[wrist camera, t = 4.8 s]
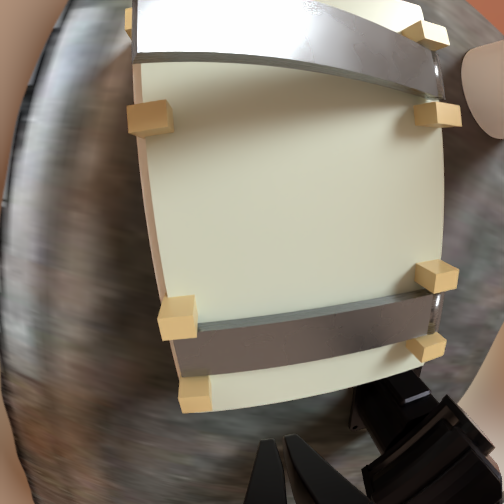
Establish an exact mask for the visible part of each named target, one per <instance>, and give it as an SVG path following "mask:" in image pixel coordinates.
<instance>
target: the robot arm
mask: <svg viewBox="0 0 504 504" xmlns="http://www.w3.org/2000/svg"><path fill="white" fill-rule="evenodd" d="M421 369H422V366H420V367H417V368H414V369H411V370H408V371H405V372H402V373H399V374H395V375H392V376H389V377H386V378H382V379H379V380H375V381H372V382H368V383H364V384H361V385H357V386H354V393H353V400H352V407H351V414H350V420H349V429H350V430H351V431H356V430H359V429H363V428H366V429H367V431H368V432H369V434H370V436H371V438H372V439H373V441H374V443H375V445H376V446H377V448H378V450H379V452H380V453H381V456H380V457H378V458H377V459H376V460H374V461H373V462H372V463H370V464H369V465H366V466H365V467H363V468H362V469H361V470H362V475H363V481H364V485H365V489H366V494H367V496H365V495H364V494H363V493H362V492H361V491H359V490H358V489H357V488H356V487H355V486H354V485H352V484H351V483H350V482H349V481H348V480H347V479H346V478H344V477H343V476H342V475H341V474H340V473H339V472H338V471H336V470H335V469H334V468H333V467H332V466H331V465H330V464H329V463H328V462H326V461H325V460H324V459H323V458H322V457H321V456H320V455H319V454H318V453H317V452H316V451H315V450H313V449H312V448H311V447H310V446H309V445H308V444H307V443H306V442H305V441H304V440H303V439H302V438H301V437H300V436H299V435H297V434H291V435H285V436H284V437H283V453H284V459H285V463H286V467H287V472H288V476H289V480H290V485H291V489H292V493H293V496H294V499H295V502H296V504H502V477H501V473H500V471H499V468H498V465H497V463H496V462H495V461H494V460H493V459H492V458H491V457H490V456H489V454H490V453H491V452H492V451H493V450H494V448H495V447H494V445H493V444H492V443H491V442H490V440H489V439H488V438H487V437H486V435H485V434H484V433H483V432H482V430H481V429H480V428H479V427H478V426H477V425H476V423H475V422H474V421H473V420H472V419H471V418H470V417H469V416H468V415H467V414H466V413H465V412H464V411H463V410H462V409H461V408H460V407H459V406H458V405H457V404H456V403H455V402H454V401H453V400H452V399H451V398H450V397H449V396H448V395H447V394H446V395H445V396H444V398H443V399H442V401H441V402H440V403H439V402H438V401H437V400H436V399H435V398H434V397H433V396H432V394H431V390H430V389H429V388H428V387H427V386H426V385H425V384H424V382H423V381H422V380H421V379H420V378H419V377H420V373H421ZM243 504H287V499H286V487H285V476H284V470H283V466H282V462H281V459H280V456H279V452H278V449H277V446H276V443H275V440H274V438H269V439H262V440H261V441H260V443H259V447H258V451H257V455H256V458H255V462H254V466H253V470H252V474H251V478H250V481H249V485H248V489H247V493H246V496H245V500H244V503H243Z"/></svg>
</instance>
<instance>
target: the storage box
mask: <svg viewBox="0 0 504 504" xmlns="http://www.w3.org/2000/svg"><path fill="white" fill-rule="evenodd" d="M314 1H317V2H320V3H323V4H326V5H329V6H332V7H335V8H338V9H341V10H344V11H346V12H349V13H352V14H354V15H357V16H360V17H362V18H365V19H367V20H369V21H372V22H374V23H377V24H379V25H381V26H383V27H386V28H388V29H390V30H392V31H394V32H396V33H398V34H401V35H403V36H405V37H407V38H409V39H411V40H413V41H415V42H416V43H418V44H420V45H422V46H424V47H426V48H428V49H429V50H432V51H436V50H439V49H441V48H444V47H447V46H450V44H449V40H448V35H447V31H446V28H445V27H442V26H439V25H436V24H433V23H430V22H426V21H424V18H423V14H422V10H421V8H420V6H418V5H415V4H412V3H408V2H404V1H401V0H314ZM125 31H126V32H127V34H128V35H129V37H130V39H131V40H132V8H128V9H125ZM133 91H134V105H129V106H127V120H128V133H129V134H132V135H135V136H136V137H137V148H138V158H139V168H140V177H141V185H142V193H143V201H144V208H145V215H146V222H147V229H148V235H149V241H150V248H151V253H152V259H153V265H154V270H155V276H156V281H157V286H158V291H159V296H160V301H161V308H160V311H159V315H158V318H157V320H158V324H159V329H160V333H161V337H162V341H166V340H169V341H170V346H171V350H172V354H173V358H174V362H175V366H176V370H177V373H178V377H179V381H180V383H179V394H178V399H179V403H180V406H181V409H182V413H200V412H211V411H221V410H230V409H238V408H245V407H253V406H259V405H266V404H272V403H278V402H284V401H289V400H295V399H300V398H305V397H310V396H315V395H319V394H324V393H328V392H333V391H337V390H341V389H345V388H349V387H353V386H357V385H361V384H364V383H368V382H372V381H375V380H379V379H382V378H386V377H389V376H392V375H395V374H399V373H402V372H405V371H408V370H411V369H414V368H417V367H420V366H423V365H424V362H426V361H429V360H432V359H434V358H437V357H440V356H443V354H444V350H445V346H446V341H447V340H446V339H445V338H443V337H442V336H441V335H440V334H439V333H437V332H435V333H434V334H431V335H424V336H420V337H417V338H413V339H410V340H406V341H402V342H398V343H394V344H390V345H386V346H382V347H378V348H374V349H370V350H365V351H361V352H357V353H352V354H347V355H342V356H338V357H333V358H327V359H322V360H317V361H311V362H306V363H300V364H294V365H288V366H281V367H275V368H268V369H260V370H253V371H245V372H236V373H228V374H218V375H207V376H196V377H182V376H181V372H180V368H179V364H178V360H177V356H176V352H175V347H174V343H173V340H177V339H187V338H197V326H198V323H205V322H215V321H224V320H233V319H241V318H250V317H258V316H265V315H273V314H280V313H287V312H294V311H301V310H308V309H315V308H321V307H327V306H333V305H340V304H345V303H351V302H357V301H363V300H368V299H374V298H379V297H385V296H390V295H395V294H400V293H405V292H410V291H415V290H420V289H424V288H426V289H427V290H429V291H430V292H432V293H433V294H435V293H439V292H443V291H447V290H451V289H455V288H457V281H458V273H459V269H457V268H455V267H453V266H451V265H449V264H447V263H445V262H443V261H441V251H442V237H443V218H444V160H443V140H442V128H445V127H462V122H461V112H460V106H458V105H453V104H448V103H442V102H439V100H436V101H431V100H426V99H425V98H422V97H419V96H416V95H413V94H409V93H406V92H402V91H399V90H395V89H391V88H388V87H384V86H380V85H376V84H372V83H368V82H363V81H359V80H354V79H350V78H345V77H340V76H334V75H329V74H323V73H318V72H311V71H305V70H298V69H290V68H282V67H274V66H264V65H252V64H239V63H219V62H161V63H141V64H133Z"/></svg>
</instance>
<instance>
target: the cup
mask: <svg viewBox="0 0 504 504" xmlns="http://www.w3.org/2000/svg"><path fill="white" fill-rule="evenodd" d="M461 79H462V86H463V91H464V95H465V98H466V101H467V104H468V107H469V109H470V111H471V113H472V115H473V117H474V119H475V120H476V122H477V123H478V125H479V126H480V127H481V128H482V129H483V130H484V131H485V132H486V133H487V134H488V135H490V136H491V137H493V138H497V139H504V40H502V41H498V42H495V43H491V44H487V45H484V46H480V47H477V48H473V49H471V50H469V51H468V52H467V53H466V55H465V56H464V59H463V62H462V68H461Z"/></svg>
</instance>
